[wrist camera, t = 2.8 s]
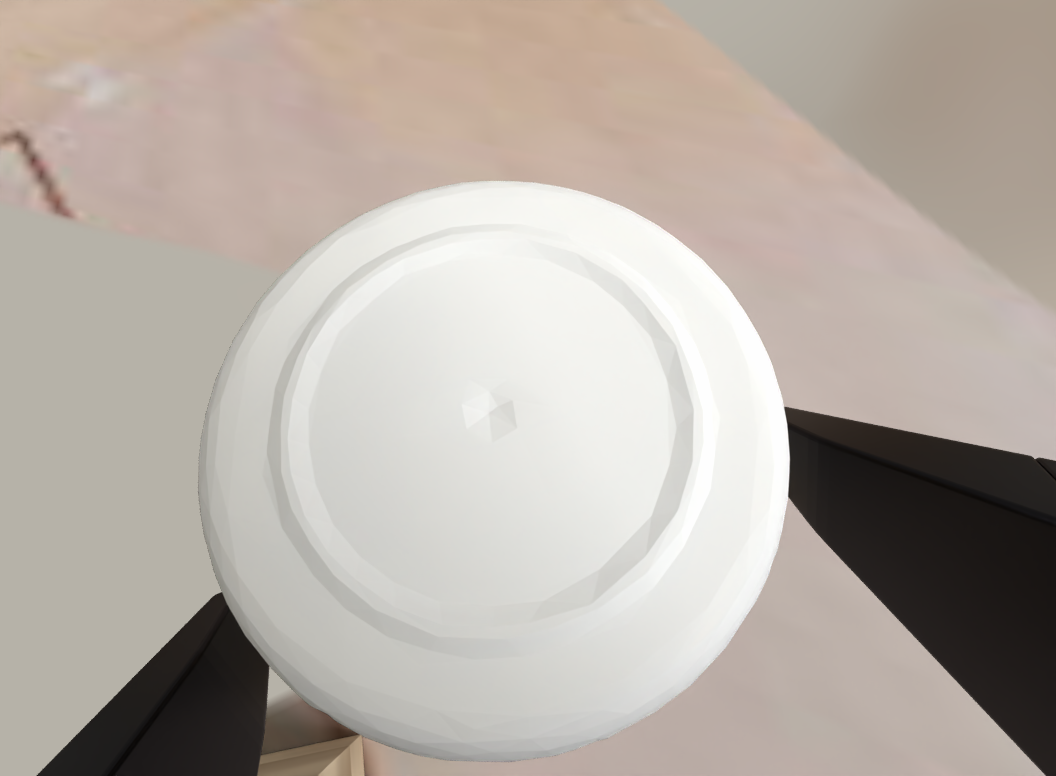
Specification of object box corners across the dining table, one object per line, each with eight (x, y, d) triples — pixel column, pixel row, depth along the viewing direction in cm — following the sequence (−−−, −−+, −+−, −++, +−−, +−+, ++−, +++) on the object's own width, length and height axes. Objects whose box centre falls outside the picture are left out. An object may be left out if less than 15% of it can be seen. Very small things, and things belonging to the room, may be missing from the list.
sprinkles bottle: (483, 445, 17) (344, 101, 5) (613, 490, 17) (856, 237, 4) (430, 582, 16) (24, 621, 3) (571, 636, 15) (746, 938, 3)
